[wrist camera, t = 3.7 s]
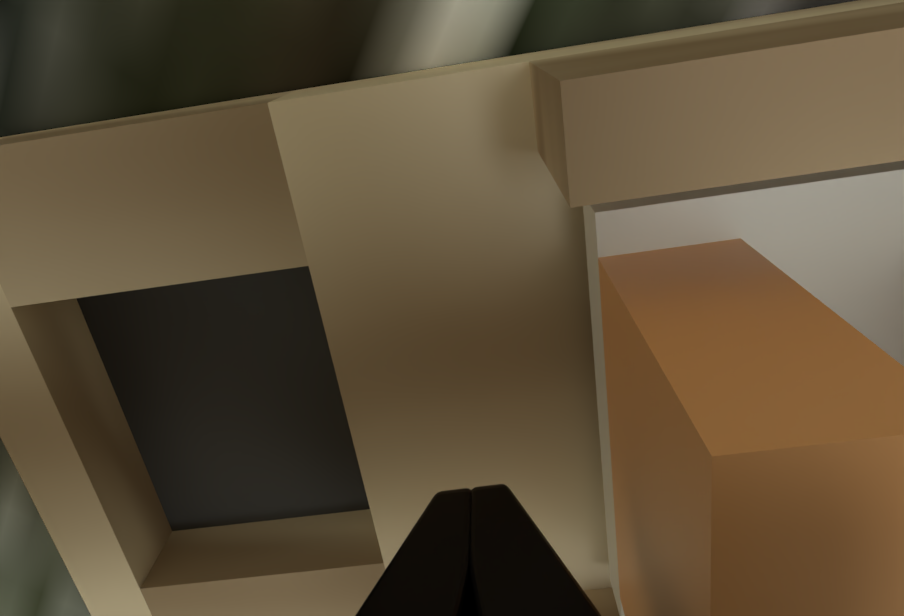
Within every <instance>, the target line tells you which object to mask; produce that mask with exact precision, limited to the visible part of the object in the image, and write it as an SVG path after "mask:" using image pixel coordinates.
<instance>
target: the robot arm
mask: <svg viewBox="0 0 904 616" xmlns="http://www.w3.org/2000/svg"><path fill="white" fill-rule="evenodd" d="M355 616H602V615H601V614H600V612H599V611H598V610H597V608H596V607H595V605H594V604H593V603H592V601H591V600H590V598H589V597H588V596H587V594H586V593H585V592H584V590H583V589H582V587H581V586H580V585H579V583H578V582H577V581H576V579H575V578H574V576H573V575H572V574H571V572H570V571H569V570H568V568H567V567H566V565H565V564H564V563H563V561H562V560H561V558H560V557H559V556H558V554H557V553H556V552H555V550H554V549H553V547H552V546H551V545H550V543H549V542H548V541H547V539H546V538H545V536H544V535H543V534H542V532H541V531H540V530H539V528H538V527H537V525H536V524H535V523H534V521H533V520H532V518H531V517H530V516H529V514H528V513H527V512H526V510H525V509H524V507H523V506H522V505H521V503H520V502H519V501H518V499H517V498H516V496H515V495H514V494H513V492H512V491H511V489H510V488H509V487H508V486H507V485H505V484H496V485H487V486H479V487H474V488H473V489H472V490H471V489H469V488H462V489H454V490H445V491H440V492H438V493H436V494H435V495H434V496H433V498H432V499H431V501H430V502H429V504H428V505H427V507H426V509H425V510H424V512H423V513H422V515H421V516H420V518H419V519H418V521H417V522H416V524H415V525H414V527H413V528H412V530H411V531H410V533H409V534H408V536H407V537H406V539H405V541H404V542H403V544H402V545H401V547H400V548H399V550H398V551H397V553H396V554H395V556H394V557H393V559H392V560H391V562H390V563H389V565H388V566H387V568H386V569H385V571H384V573H383V574H382V576H381V577H380V579H379V580H378V582H377V583H376V585H375V586H374V588H373V589H372V591H371V592H370V594H369V595H368V597H367V598H366V600H365V601H364V603H363V605H362V606H361V608H360V609H359V611H358V612H357V614H356V615H355Z"/></svg>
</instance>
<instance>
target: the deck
mask: <svg viewBox="0 0 904 616" xmlns="http://www.w3.org/2000/svg"><path fill="white" fill-rule="evenodd" d="M903 160H904V0H858V1H852V2H845V3H839V4H833V5H827V6H820V7H814V8H808V9H802V10H795V11H789V12H783V13H776V14H770V15H764V16H758V17H751V18H745V19H739V20H733V21H726V22H720V23H714V24H707V25H701V26H695V27H689V28H682V29H676V30H670V31H664V32H657V33H651V34H645V35H638V36H632V37H626V38H620V39H613V40H607V41H601V42H594V43H588V44H582V45H576V46H569V47H563V48H557V49H551V50H544V51H538V52H532V53H525V54H519V55H513V56H507V57H500V58H494V59H488V60H482V61H475V62H469V63H463V64H456V65H450V66H444V67H438V68H431V69H425V70H419V71H413V72H406V73H400V74H394V75H387V76H381V77H375V78H369V79H362V80H356V81H350V82H344V83H337V84H331V85H325V86H318V87H312V88H306V89H300V90H293V91H287V92H281V93H274V94H268V95H262V96H256V97H249V98H243V99H237V100H231V101H224V102H218V103H212V104H205V105H199V106H193V107H187V108H180V109H174V110H168V111H162V112H155V113H149V114H143V115H136V116H130V117H124V118H118V119H111V120H105V121H99V122H93V123H86V124H80V125H74V126H67V127H61V128H55V129H49V130H42V131H36V132H30V133H24V134H17V135H11V136H5V137H0V437H1V439H2V441H3V443H4V445H5V447H6V449H7V451H8V453H9V455H10V457H11V459H12V461H13V463H14V465H15V467H16V469H17V471H18V473H19V475H20V477H21V479H22V481H23V483H24V485H25V486H26V488H27V490H28V492H29V494H30V496H31V498H32V500H33V502H34V504H35V506H36V508H37V510H38V512H39V514H40V516H41V518H42V520H43V522H44V524H45V526H46V528H47V530H48V532H49V534H50V536H51V538H52V539H53V541H54V543H55V545H56V547H57V549H58V551H59V553H60V555H61V557H62V559H63V561H64V563H65V565H66V567H67V569H68V571H69V573H70V575H71V577H72V579H73V581H74V583H75V585H76V587H77V589H78V591H79V593H80V594H81V596H82V598H83V600H84V602H85V604H86V606H87V608H88V610H89V612H90V614H91V616H355V615H356V614H357V612H358V611H359V609H360V608H361V606H362V605H363V603H364V601H365V600H366V598H367V597H368V595H369V594H370V592H371V591H372V589H373V588H374V586H375V585H376V583H377V582H378V580H379V579H380V577H381V576H382V574H383V573H384V571H385V569H386V568H387V566H388V565H389V563H390V562H391V560H392V559H393V557H394V556H395V554H396V553H397V551H398V550H399V548H400V547H401V545H402V544H403V542H404V541H405V539H406V537H407V536H408V534H409V533H410V531H411V530H412V528H413V527H414V525H415V524H416V522H417V521H418V519H419V518H420V516H421V515H422V513H423V512H424V510H425V509H426V507H427V505H428V504H429V502H430V501H431V499H432V498H433V496H434V495H435V494H436V493H438V492H440V491H445V490H454V489H462V488H469V489H471V490H472V489H473V488H474V487H479V486H487V485H496V484H505V485H507V486H508V487H509V488H510V489H511V491H512V492H513V494H514V495H515V496H516V498H517V499H518V501H519V502H520V503H521V505H522V506H523V507H524V509H525V510H526V512H527V513H528V514H529V516H530V517H531V518H532V520H533V521H534V523H535V524H536V525H537V527H538V528H539V530H540V531H541V532H542V534H543V535H544V536H545V538H546V539H547V541H548V542H549V543H550V545H551V546H552V547H553V549H554V550H555V552H556V553H557V554H558V556H559V557H560V558H561V560H562V561H563V563H564V564H565V565H566V567H567V568H568V570H569V571H570V572H571V574H572V575H573V576H574V578H575V579H576V581H577V582H578V583H579V585H580V586H581V587H582V589H583V590H584V592H585V593H586V594H587V596H588V597H589V598H590V600H591V601H592V603H593V604H594V605H595V607H596V608H597V610H598V611H599V612H600V614H601V615H602V616H620V615H619V612H618V608H617V604H616V600H615V597H614V593H613V589H612V585H611V582H610V573H609V559H608V546H607V532H606V518H605V504H604V490H603V476H602V462H601V449H600V435H599V421H598V407H597V393H596V379H595V365H594V351H593V338H592V324H591V310H590V296H589V282H588V268H587V254H586V240H585V227H584V213H583V206H586V205H593V204H600V203H607V202H614V201H621V200H628V199H635V198H642V197H649V196H657V195H664V194H671V193H678V192H685V191H692V190H699V189H706V188H713V187H720V186H727V185H734V184H741V183H748V182H755V181H762V180H769V179H776V178H783V177H790V176H797V175H805V174H812V173H819V172H826V171H833V170H840V169H847V168H854V167H861V166H868V165H875V164H882V163H889V162H896V161H903Z"/></svg>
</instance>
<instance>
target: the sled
mask: <svg viewBox="0 0 904 616" xmlns="http://www.w3.org/2000/svg"><path fill="white" fill-rule="evenodd" d="M583 213H584V227H585V240H586V254H587V268H588V282H589V296H590V310H591V324H592V338H593V351H594V365H595V379H596V393H597V407H598V421H599V435H600V449H601V462H602V476H603V490H604V504H605V518H606V532H607V546H608V559H609V573H610V582H611V585H612V589H613V593H614V597H615V600H616V604H617V608H618V612H619V615H620V616H904V160H903V161H896V162H889V163H882V164H875V165H868V166H861V167H854V168H847V169H840V170H833V171H826V172H819V173H812V174H805V175H797V176H790V177H783V178H776V179H769V180H762V181H755V182H748V183H741V184H734V185H727V186H720V187H713V188H706V189H699V190H692V191H685V192H678V193H671V194H664V195H657V196H649V197H642V198H635V199H628V200H621V201H614V202H607V203H600V204H593V205H586V206H583Z"/></svg>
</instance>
